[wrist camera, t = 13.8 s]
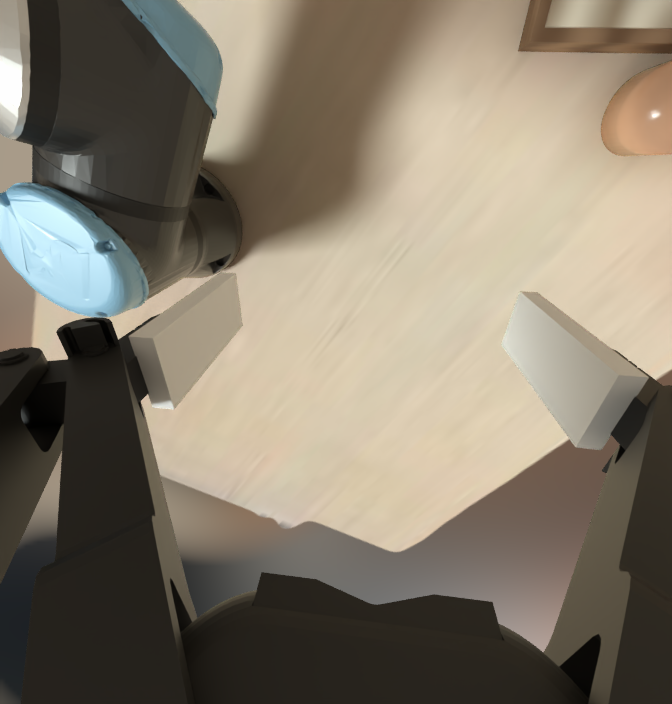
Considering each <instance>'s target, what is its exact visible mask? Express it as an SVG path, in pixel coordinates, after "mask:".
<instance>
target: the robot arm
mask: <svg viewBox="0 0 672 704" xmlns="http://www.w3.org/2000/svg"><path fill="white" fill-rule="evenodd" d="M222 73H223V65H222V59H221V56H220V53H219V50H218V48H217V46H216V44H215V43H214V41H213V39H212V38H211V37H210V35H209V34H208V33H207V31H206V30H205V29H204V28H203V27H202V26H201V25H200V23H199V22H198V21H197V20H196V19H195V18H194V17H193V16H192V15H191V14H190V13H189V12H188V11H187V10H186V9H185V8H184V7H183V6H182V5H181V4H180V3H179V2H178V1H177V0H0V133H1V134H2V135H3V136H5V137H7V138H10V139H13V140H16V141H20V142H23V143H27V144H31V145H33V154H32V155H33V157H32V160H33V161H32V183H30V182H27V183H17V184H14V185H13V186H12V187H10V188H9V189H8V190H7V191H6V192H3V193H0V248H1V250H2V252H3V254H4V255H5V257H6V258H7V260H8V261H9V262H10V264H11V265H12V266H13V268H14V269H15V270H16V271H17V272H18V273H19V274H20V275H21V276H22V277H23V278H24V279H25V280H26V282H27V283H28V284H29V285H30V286H31V287H33V288H34V289H35V290H36V291H37V292H39V293H40V294H41V295H43V296H44V297H46V298H47V299H48V300H50V301H52V302H53V303H55V304H57V305H59V306H60V307H63V308H65V309H67V310H69V311H72V312H74V313H77V314H81V315H84V316H89V317H94V318H85V319H81V320H76V321H73V322H70V323H68V324H65V325H63V326H62V327H60V328H59V329H58V330H57V332H56V333H57V335H58V337H59V339H60V341H61V343H62V345H63V347H64V350H65V352H66V354H67V356H68V360H57V361H47V360H46V358H45V356H44V354H43V352H42V351H41V350H40V349H39V348H33V347H29V348H19V349H10V350H8V351H3V352H0V584H1V581H2V579H3V577H4V575H5V573H6V571H7V568H8V566H9V564H10V562H11V560H12V558H13V556H14V553H15V551H16V549H17V547H18V545H19V543H20V540H21V538H22V536H23V534H24V532H25V530H26V527H27V525H28V523H29V521H30V519H31V516H32V514H33V512H34V510H35V508H36V505H37V503H38V501H39V499H40V497H41V495H42V492H43V491H44V488H45V486H46V484H47V482H48V480H49V477H50V475H51V473H52V471H53V469H54V467H55V464H56V462H57V460H58V458H59V456H60V453H61V451H62V463H61V479H60V496H59V512H58V528H57V546H56V556H55V561H54V562H53V563H51V564H49V565H46V566H44V567H42V568H41V570H40V571H39V573H38V574H37V576H36V580H35V585H34V589H33V596H32V606H31V616H30V624H29V633H28V643H27V652H26V662H25V671H24V680H23V689H22V698H21V704H672V386H670V385H668V386H662V385H661V384H660V383H658V382H657V381H656V380H655V379H653V378H652V377H651V376H649V375H648V374H647V373H645V372H644V371H643V370H641V369H640V368H637V366H636V365H635V364H633V363H632V362H631V361H628V359H627V358H625V357H624V356H623V355H621V354H620V353H619V352H617V351H616V350H613V349H611V348H610V347H608V346H607V345H606V344H604V343H603V342H602V341H600V340H599V339H598V338H597V337H595V336H594V335H593V334H591V333H590V332H589V331H587V330H586V329H585V328H583V327H582V326H581V325H579V324H578V323H577V322H575V321H574V320H573V319H572V318H570V317H569V316H568V315H566V314H565V313H564V312H562V311H561V310H560V309H558V308H557V307H556V306H554V305H553V304H552V303H550V302H549V301H548V300H547V299H545V298H544V297H543V296H541V295H540V294H539V293H537V292H522V291H520V292H519V295H518V297H517V300H516V303H515V306H514V309H513V312H512V315H511V318H510V321H509V324H508V326H507V329H506V332H505V335H504V338H503V341H502V344H501V345H502V347H503V348H504V349H505V351H506V352H507V353H508V355H509V356H510V358H511V359H512V360H513V362H514V363H515V364H516V366H517V367H518V369H519V370H520V371H521V373H522V374H523V375H524V377H525V378H526V380H527V381H528V382H529V384H530V385H531V387H532V388H533V389H534V391H535V392H536V393H537V395H538V396H539V398H540V399H541V400H542V402H543V403H544V404H545V406H546V407H547V409H548V410H549V411H550V413H551V414H552V415H553V417H554V418H555V420H556V421H557V422H558V424H559V425H560V426H561V428H562V429H563V431H564V432H565V433H566V435H567V436H568V437H569V439H570V440H571V442H572V443H573V444H574V446H575V447H577V448H588V449H599V450H602V448H603V447H604V445H605V443H606V442H607V440H608V439H609V438H610V436H611V435H612V436H613V437H614V438H615V439H616V441H617V442H618V443H619V444H620V445H619V447H618V448H617V450H616V451H615V453H614V454H613V455H612V457H611V458H610V460H609V461H608V463H607V464H606V465H605V467H604V468H603V470H602V471H603V472H605V473H607V475H606V478H605V481H604V484H603V486H602V489H601V493H600V495H599V498H598V501H597V504H596V507H595V511H594V513H593V516H592V519H591V522H590V526H589V528H588V531H587V534H586V537H585V540H584V543H583V546H582V549H581V552H580V555H579V558H578V561H577V564H576V567H575V570H574V573H573V576H572V579H571V582H570V585H569V587H568V590H567V594H566V597H565V599H564V602H563V605H562V609H561V611H560V615H559V617H558V621H557V623H556V626H555V629H554V632H553V635H552V637H551V640H550V642H549V644H548V646H547V647H546V649H545V651H544V653H543V652H542V651H540V650H539V649H538V648H537V647H536V646H534V645H533V644H531V643H530V642H529V641H527V640H526V639H524V638H523V637H522V636H520V635H519V634H517V633H515V632H513V631H511V630H510V629H508V628H506V627H505V626H503V625H500V624H498V621H497V617H496V613H495V610H494V606H493V603H492V602H488V601H480V600H472V599H464V598H457V597H449V596H441V595H429V596H423V597H418V598H413V599H408V600H402V601H397V602H392V603H386V604H380V605H374V604H370V603H367V602H365V601H363V600H360V599H358V598H356V597H354V596H352V595H349V594H347V593H345V592H343V591H341V590H338V589H336V588H334V587H332V586H329V585H327V584H325V583H323V582H321V581H318V580H316V579H309V578H302V577H293V576H285V575H278V574H270V573H261V577H260V580H259V584H258V588H257V590H256V591H250V592H246V593H243V594H240V595H237V596H234V597H232V598H230V599H228V600H226V601H224V602H221V603H219V604H218V605H216V606H214V607H213V608H211V609H210V610H208V611H207V612H205V613H204V614H202V615H201V616H200V617H199V618H197V616H196V612H195V609H194V606H193V603H192V600H191V597H190V593H189V590H188V586H187V582H186V578H185V575H184V570H183V566H182V562H181V558H180V555H179V550H178V546H177V543H176V539H175V534H174V530H173V526H172V522H171V519H170V514H169V510H168V506H167V502H166V498H165V494H164V490H163V486H162V482H161V478H160V474H159V470H158V466H157V462H156V458H155V454H154V450H153V446H152V442H151V438H150V434H149V430H148V426H147V422H146V418H145V414H144V410H143V407H142V404H141V400H142V399H143V398H144V397H145V396H146V395H147V394H148V395H149V398H150V401H151V404H152V407H154V408H165V409H175V408H176V407H177V405H178V404H179V403H180V402H181V400H182V399H183V398H184V397H185V396H186V394H187V393H188V392H189V391H190V389H191V388H192V387H193V386H194V384H195V383H196V382H197V381H198V380H199V378H200V377H201V376H202V375H203V373H204V372H205V371H206V370H207V369H208V367H209V366H210V365H211V364H212V362H213V361H214V360H215V359H216V358H217V356H218V355H219V354H220V353H221V351H222V350H223V349H224V348H225V347H226V345H227V344H228V343H229V342H230V340H231V339H232V338H233V337H234V335H235V334H236V333H237V332H238V331H239V329H240V328H241V327H242V326H243V324H242V317H241V309H240V301H239V294H238V286H237V279H236V273H221V272H220V271H221V270H223V269H224V268H226V267H227V266H228V265H229V264H230V263H231V262H232V261H233V260H234V258H235V257H236V255H237V253H238V251H239V248H240V245H241V240H242V224H241V219H240V215H239V212H238V209H237V206H236V204H235V202H234V200H233V198H232V196H231V195H230V193H229V192H228V190H227V189H226V188H225V187H224V185H223V184H222V183H221V182H220V181H219V180H218V179H217V178H215V177H214V176H213V175H212V174H210V173H209V172H207V171H206V170H204V169H202V168H200V167H201V163H202V159H203V155H204V152H205V148H206V144H207V140H208V136H209V132H210V128H211V124H212V120H213V119H215V118H216V115H217V109H216V103H217V98H218V93H219V89H220V84H221V79H222ZM218 272H220V273H219V274H217V275H216V276H215V277H213V278H212V279H210V280H209V281H207V282H206V283H204V284H203V285H202V286H200V287H199V288H197V289H196V290H194V291H193V292H192V293H190V294H189V295H187V296H186V297H184V298H183V299H181V300H180V301H179V302H177V303H176V304H174V305H173V306H171V307H170V308H169V309H167V310H166V311H164V312H163V313H161V314H159V315H156V316H154V317H151V318H150V319H148V320H147V321H145V322H144V323H142V325H139V326H138V327H136V328H135V330H132V331H131V332H129V333H128V334H126V335H125V336H123V337H122V338H120V339H119V340H118V338H117V335H116V333H115V330H114V327H113V324H112V322H111V321H110V320H109V319H106V318H97V317H111V316H115V315H118V314H121V313H123V312H125V311H127V310H130V309H133V308H137V307H139V306H141V305H142V304H143V303H145V302H144V301H146V300H148V299H149V298H151V297H153V296H154V295H156V294H158V293H159V292H161V291H163V290H164V289H166V288H168V287H169V286H171V285H173V284H174V283H176V282H178V281H179V280H181V279H183V278H203V277H208V276H211V275H214V274H216V273H218Z"/></svg>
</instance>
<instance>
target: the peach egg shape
mask: <svg viewBox="0 0 672 704" xmlns="http://www.w3.org/2000/svg"><path fill="white" fill-rule="evenodd" d="M601 136H602V140H603V143H604V145H605V146H606V148H607V149H608V150H609V151H610V152H612V153H614V154H616V155H619V156H640V155H663V154H672V61H669V62H667V63H664V64H661V65H658V66H655V67H653V68H650V69H647V70H644V71H642V72H640V73H638V74H637V75H635V76H634V77H632V78H631V79H630V80H628V81H627V82H626V83H625V84H624V85H623V86H622V87H621V88H620V89H619V90H618V91H617V92H616V94H615V95H614V96H613V98H612V99H611V101H610V103H609V104H608V106H607V108H606V111H605V113H604V116H603V119H602V124H601Z"/></svg>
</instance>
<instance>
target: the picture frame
mask: <svg viewBox="0 0 672 704" xmlns="http://www.w3.org/2000/svg"><path fill="white" fill-rule="evenodd" d="M518 51H530V52H599V53H668V54H672V0H531V1H530V5H529V9H528V13H527V17H526V21H525V25H524V29H523V34H522V38H521V42H520V46H519V50H518Z"/></svg>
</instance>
